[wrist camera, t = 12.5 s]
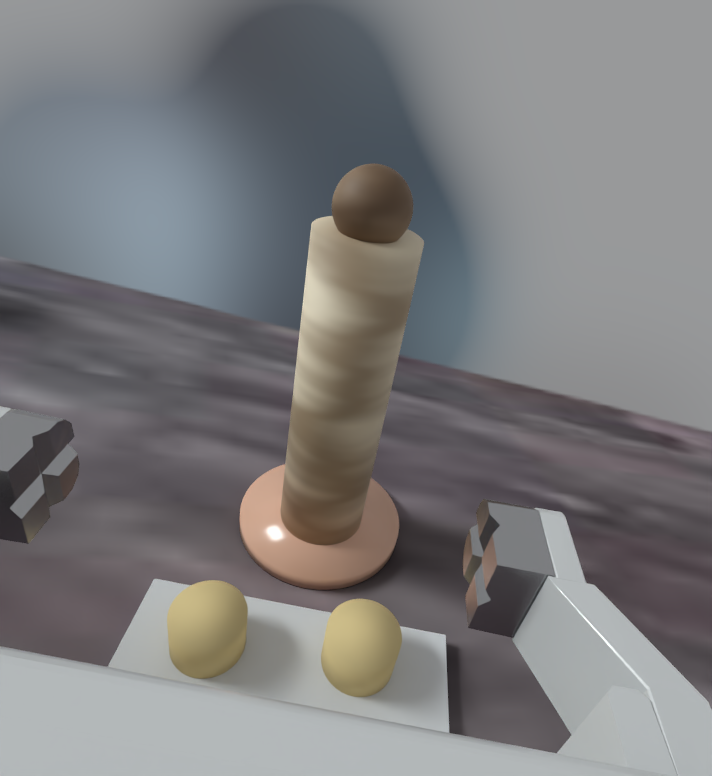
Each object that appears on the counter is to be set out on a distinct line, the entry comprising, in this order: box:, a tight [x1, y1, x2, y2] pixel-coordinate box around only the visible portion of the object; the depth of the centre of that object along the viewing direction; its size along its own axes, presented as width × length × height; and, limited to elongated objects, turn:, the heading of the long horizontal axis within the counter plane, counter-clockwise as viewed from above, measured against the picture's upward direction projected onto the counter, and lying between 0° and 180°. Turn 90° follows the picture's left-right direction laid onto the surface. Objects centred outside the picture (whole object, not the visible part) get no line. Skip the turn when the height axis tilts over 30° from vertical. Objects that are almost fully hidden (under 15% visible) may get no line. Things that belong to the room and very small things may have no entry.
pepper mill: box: [280, 164, 424, 545], centre depth 25 cm, size 5×5×19 cm
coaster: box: [240, 464, 399, 590], centre depth 30 cm, size 9×9×1 cm
